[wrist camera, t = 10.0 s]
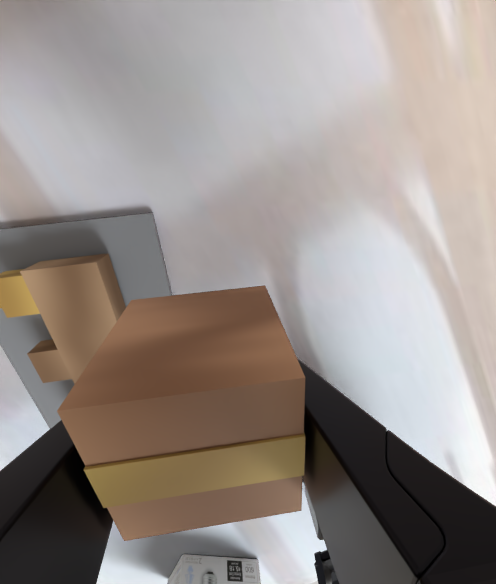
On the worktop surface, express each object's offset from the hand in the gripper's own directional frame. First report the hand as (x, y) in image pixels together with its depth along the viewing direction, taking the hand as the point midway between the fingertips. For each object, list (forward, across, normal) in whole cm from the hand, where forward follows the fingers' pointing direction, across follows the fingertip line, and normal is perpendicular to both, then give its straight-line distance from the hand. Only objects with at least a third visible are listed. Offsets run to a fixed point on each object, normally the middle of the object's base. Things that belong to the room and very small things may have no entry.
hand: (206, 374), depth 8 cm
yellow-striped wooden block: (+1, 0, 0) cm, 1 cm away
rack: (+10, +9, +6) cm, 15 cm away
